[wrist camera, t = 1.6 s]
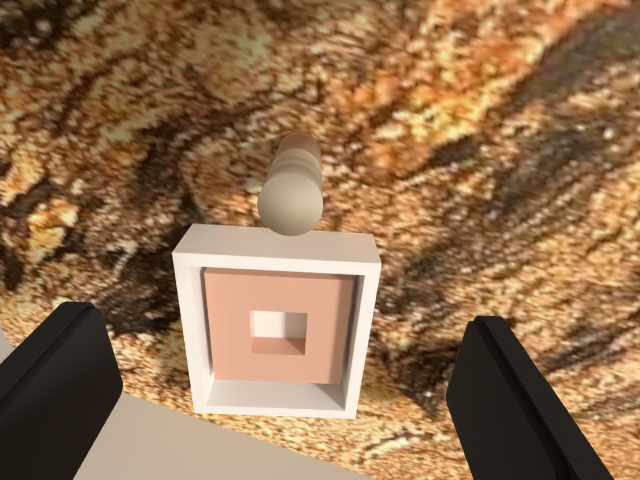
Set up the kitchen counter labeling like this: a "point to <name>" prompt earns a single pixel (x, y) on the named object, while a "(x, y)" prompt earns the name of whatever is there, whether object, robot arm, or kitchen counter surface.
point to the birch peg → (293, 187)
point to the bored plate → (271, 352)
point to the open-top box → (275, 315)
